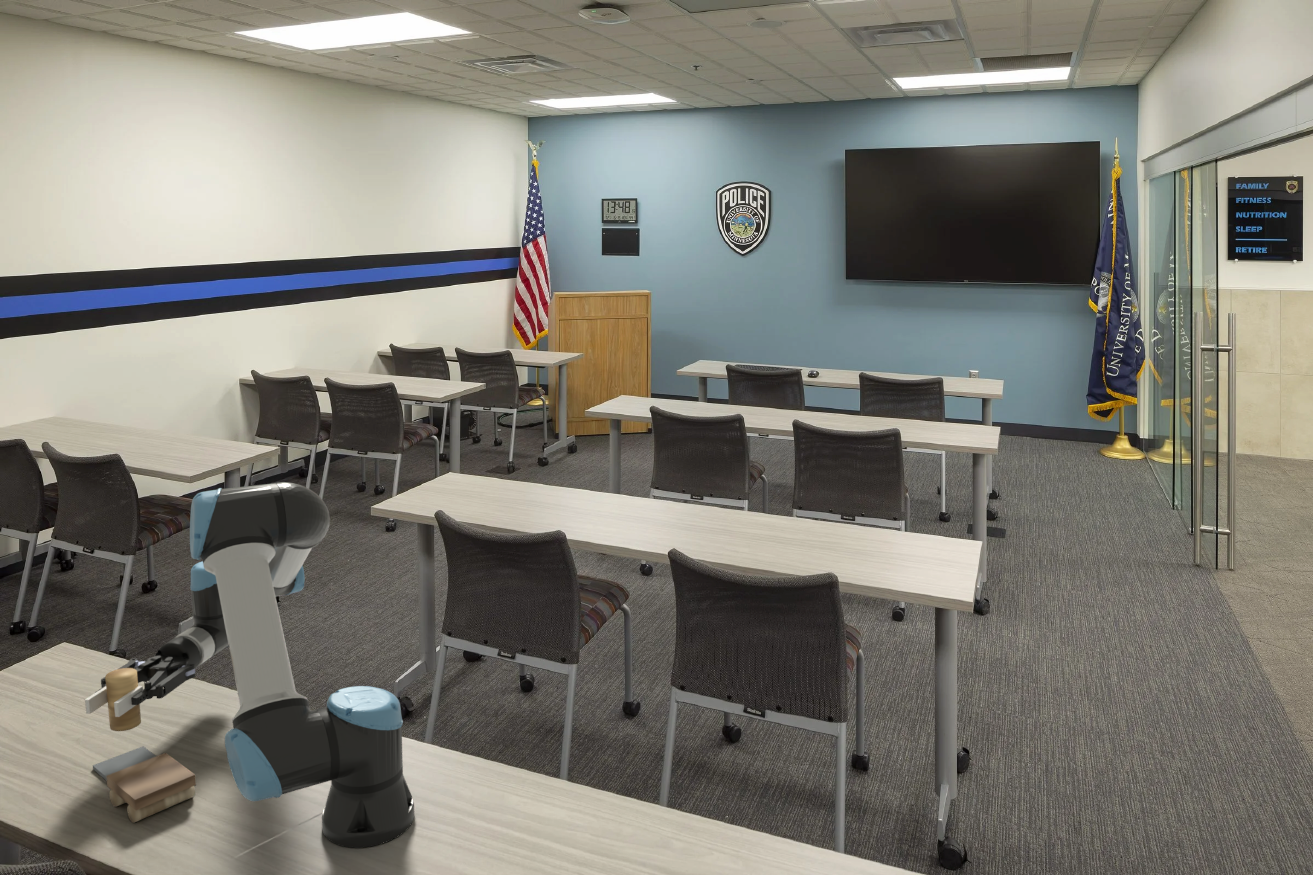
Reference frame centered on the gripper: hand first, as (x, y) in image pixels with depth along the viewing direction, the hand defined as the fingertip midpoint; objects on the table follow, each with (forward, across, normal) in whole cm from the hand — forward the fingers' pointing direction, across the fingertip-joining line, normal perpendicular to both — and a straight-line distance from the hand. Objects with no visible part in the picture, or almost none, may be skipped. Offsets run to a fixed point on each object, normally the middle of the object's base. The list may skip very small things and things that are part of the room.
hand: (102, 708), depth 164 cm
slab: (+4, -11, -15) cm, 19 cm away
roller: (-5, 0, -6) cm, 8 cm away
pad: (-5, 0, -15) cm, 16 cm away
